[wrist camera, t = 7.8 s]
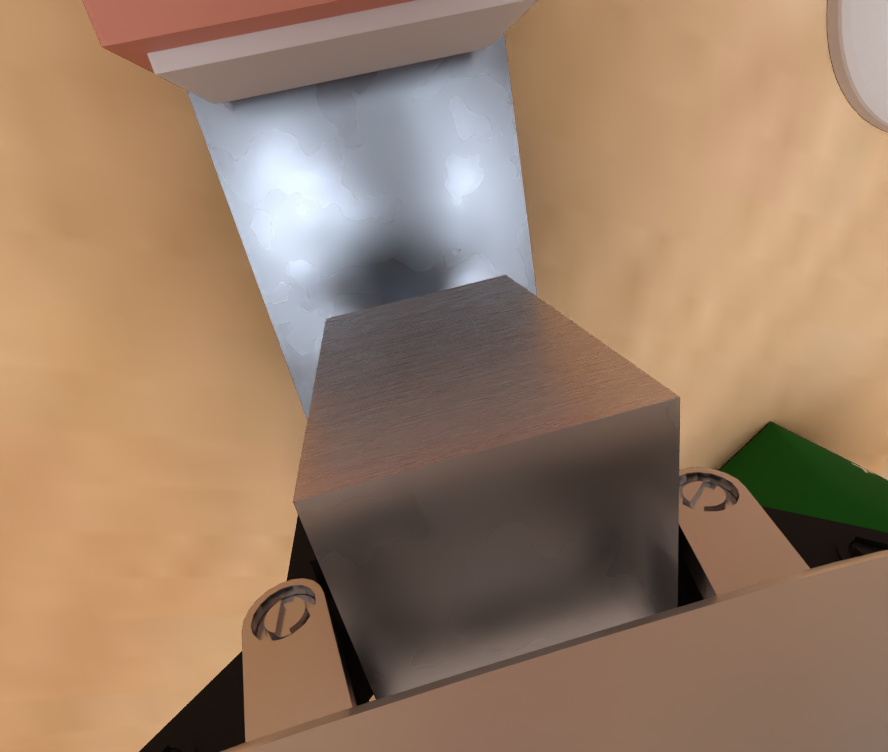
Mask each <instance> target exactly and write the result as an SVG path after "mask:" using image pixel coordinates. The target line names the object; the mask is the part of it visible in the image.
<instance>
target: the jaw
mask: <svg viewBox="0 0 888 752" xmlns="http://www.w3.org/2000/svg"><path fill="white" fill-rule="evenodd" d="M82 1H83V3H84V6H85V8H86V11H87V13H88V15H89V18H90V20H91V23H92V25H93V27H94V30H95V32H96V35H97V37H98V39H99V42H100V44H101V47H103V48H105V49H107V50H109V51H111V52H113V53H115V54H117V55H119V56H121V57H123V58H125V59H127V60H129V61H131V62H133V63H135V64H137V65H139V66H141V67H143V68H145V69H147V70H149V71H151V72H153V73H155V75H157V76H159V77H161V78H163V79H165V80H167V81H169V82H171V83H173V84H175V85H177V86H179V87H181V88H183V89H185V90H187V91H189V92H191V93H193V94H195V95H197V96H199V97H201V98H203V99H205V100H207V101H209V102H211V103H213V104H220V103H225V102H230V101H234V100H239V99H244V98H249V97H254V96H259V95H263V94H268V93H273V92H278V91H283V90H288V89H292V88H297V87H302V86H307V85H312V84H317V83H321V82H326V81H331V80H336V79H341V78H346V77H350V76H355V75H360V74H365V73H370V72H375V71H380V70H384V69H389V68H394V67H399V66H404V65H409V64H413V63H418V62H423V61H428V60H433V59H438V58H442V57H447V56H452V55H457V54H462V53H467V52H471V51H476V50H481V49H486V48H489V47H490V46H491V45H492V44H493V43H494V42H495V41H496V40H497V39H498V38H499V37H500V36H502V35H503V34H504V33H505V32H506V31H507V30H508V29H509V28H510V27H511V26H512V25H513V24H514V23H515V22H516V21H517V20H518V19H519V18H520V17H521V16H522V15H523V14H524V13H525V12H526V11H527V10H529V9H530V8H531V7H532V6H533V5H534V4H535V3H536V2H537V1H538V0H82Z"/></svg>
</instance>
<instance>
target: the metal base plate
mask: <svg viewBox="0 0 888 752" xmlns="http://www.w3.org/2000/svg"><path fill="white" fill-rule="evenodd" d="M187 93H188V95H189V98H190V101H191V104H192V106H193V109H194V112H195V114H196V117H197V120H198V123H199V125H200V128H201V131H202V134H203V136H204V139H205V142H206V144H207V147H208V150H209V153H210V155H211V158H212V161H213V164H214V166H215V169H216V172H217V174H218V177H219V180H220V183H221V185H222V188H223V191H224V194H225V196H226V199H227V202H228V205H229V207H230V210H231V213H232V215H233V218H234V221H235V224H236V226H237V229H238V232H239V235H240V237H241V240H242V243H243V245H244V248H245V251H246V254H247V256H248V259H249V262H250V265H251V267H252V270H253V273H254V275H255V278H256V281H257V284H258V286H259V289H260V292H261V295H262V297H263V300H264V303H265V305H266V308H267V311H268V314H269V316H270V319H271V322H272V325H273V327H274V330H275V333H276V335H277V338H278V341H279V344H280V346H281V349H282V352H283V355H284V357H285V360H286V363H287V365H288V368H289V371H290V374H291V376H292V379H293V382H294V385H295V387H296V390H297V393H298V395H299V398H300V401H301V404H302V406H303V409H304V412H305V415H306V417H307V420H308V415H309V410H310V404H311V399H312V393H313V388H314V382H315V377H316V371H317V365H318V360H319V354H320V349H321V343H322V338H323V332H324V327H325V321H326V318H330V317H334V316H338V315H342V314H346V313H350V312H354V311H358V310H363V309H367V308H371V307H375V306H379V305H383V304H387V303H391V302H396V301H400V300H404V299H408V298H412V297H416V296H420V295H424V294H428V293H433V292H437V291H441V290H445V289H449V288H453V287H457V286H461V285H466V284H470V283H474V282H478V281H482V280H486V279H490V278H494V277H498V276H503V275H507V276H508V277H510V278H511V279H513V280H514V281H515V282H517V283H518V284H520V285H521V286H523V287H524V288H525V289H527V290H528V291H530V292H531V293H533V294H534V295H535V296H537V293H536V285H535V277H534V269H533V261H532V252H531V244H530V236H529V228H528V220H527V212H526V204H525V196H524V188H523V180H522V172H521V164H520V156H519V148H518V140H517V132H516V124H515V116H514V108H513V100H512V92H511V84H510V76H509V68H508V60H507V52H506V44H505V36H504V34H503V35H502V36H500V37H499V38H498V39H497V40H496V41H495V42H494V43H493V44H492V45H491V46H490V47H489V48H486V49H481V50H476V51H471V52H467V53H462V54H457V55H452V56H447V57H442V58H438V59H433V60H428V61H423V62H418V63H413V64H409V65H404V66H399V67H394V68H389V69H384V70H380V71H375V72H370V73H365V74H360V75H355V76H350V77H346V78H341V79H336V80H331V81H326V82H321V83H317V84H312V85H307V86H302V87H297V88H292V89H288V90H283V91H278V92H273V93H268V94H263V95H259V96H254V97H249V98H244V99H239V100H234V101H230V102H225V103H220V104H213V103H211V102H209V101H207V100H205V99H203V98H201V97H199V96H197V95H195V94H193V93H191V92H189V91H187Z"/></svg>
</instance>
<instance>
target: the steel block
mask: <svg viewBox="0 0 888 752" xmlns="http://www.w3.org/2000/svg"><path fill="white" fill-rule="evenodd" d="M679 444H680V397H679V396H678V395H676V394H675V393H674V392H672V391H671V390H669V389H668V388H666V387H665V386H664V385H662V384H661V383H659V382H658V381H656V380H655V379H654V378H652V377H651V376H649V375H648V374H647V373H645V372H644V371H642V370H641V369H639V368H638V367H637V366H635V365H634V364H632V363H631V362H629V361H628V360H627V359H625V358H624V357H622V356H621V355H619V354H618V353H617V352H615V351H614V350H612V349H611V348H609V347H608V346H607V345H605V344H604V343H602V342H601V341H600V340H598V339H597V338H595V337H594V336H592V335H591V334H590V333H588V332H587V331H585V330H584V329H582V328H581V327H580V326H578V325H577V324H575V323H574V322H572V321H571V320H570V319H568V318H567V317H565V316H564V315H562V314H561V313H560V312H558V311H557V310H555V309H554V308H553V307H551V306H550V305H548V304H547V303H545V302H544V301H543V300H541V299H540V298H538V297H537V296H535V295H534V294H533V293H531V292H530V291H528V290H527V289H525V288H524V287H523V286H521V285H520V284H518V283H517V282H515V281H514V280H513V279H511V278H510V277H508V276H507V275H503V276H498V277H494V278H490V279H486V280H482V281H478V282H474V283H470V284H466V285H461V286H457V287H453V288H449V289H445V290H441V291H437V292H433V293H428V294H424V295H420V296H416V297H412V298H408V299H404V300H400V301H396V302H391V303H387V304H383V305H379V306H375V307H371V308H367V309H363V310H358V311H354V312H350V313H346V314H342V315H338V316H334V317H330V318H326V321H325V327H324V332H323V338H322V343H321V349H320V354H319V360H318V365H317V371H316V377H315V382H314V388H313V393H312V399H311V404H310V410H309V415H308V421H307V426H306V432H305V437H304V443H303V449H302V454H301V460H300V465H299V471H298V476H297V482H296V487H295V493H294V498H293V503H294V505H295V508H296V510H297V513H298V515H299V517H300V520H301V522H302V525H303V527H304V529H305V532H306V534H307V536H308V539H309V541H310V544H311V546H312V548H313V551H314V553H315V555H316V558H317V560H318V563H319V565H320V567H321V570H322V572H323V574H324V577H325V579H326V582H327V584H328V586H329V589H330V591H331V594H332V596H333V598H334V601H335V603H336V605H337V608H338V610H339V613H340V615H341V617H342V620H343V622H344V624H345V627H346V629H347V632H348V634H349V636H350V639H351V641H352V643H353V646H354V648H355V651H356V653H357V655H358V658H359V660H360V663H361V665H362V667H363V670H364V672H365V674H366V677H367V679H368V682H369V684H370V686H371V689H372V691H373V693H374V696H375V698H376V700H377V699H381V698H384V697H387V696H390V695H393V694H397V693H400V692H403V691H406V690H409V689H413V688H416V687H419V686H422V685H425V684H429V683H432V682H435V681H438V680H441V679H445V678H448V677H451V676H454V675H457V674H461V673H464V672H467V671H470V670H474V669H477V668H480V667H483V666H487V665H490V664H493V663H496V662H500V661H503V660H506V659H509V658H513V657H516V656H519V655H522V654H526V653H529V652H532V651H536V650H539V649H542V648H545V647H549V646H552V645H555V644H558V643H562V642H565V641H568V640H572V639H575V638H578V637H581V636H585V635H588V634H591V633H595V632H598V631H601V630H604V629H608V628H611V627H614V626H618V625H621V624H624V623H627V622H631V621H634V620H637V619H641V618H644V617H647V616H651V615H654V614H657V613H661V612H664V611H667V610H671V609H674V608H677V607H678V527H679Z"/></svg>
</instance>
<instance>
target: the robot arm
mask: <svg viewBox="0 0 888 752" xmlns="http://www.w3.org/2000/svg"><path fill="white" fill-rule="evenodd" d="M373 694H374V693H373V691H372V689H371V686H370V684H369V682H368V679H367V677H366V674H365V672H364V670H363V667H362V665H361V663H360V660H359V658H358V655H357V653H356V651H355V648H354V646H353V643H352V641H351V639H350V636H349V634H348V632H347V629H346V627H345V624H344V622H343V620H342V617H341V615H340V613H339V610H338V608H337V605H336V603H335V601H334V598H333V596H332V594H331V591H330V589H329V586H328V584H327V582H326V579H325V577H324V574H323V572H322V570H321V567H320V565H319V563H318V560H317V558H316V555H315V553H314V551H313V548H312V546H311V544H310V541H309V539H308V536H307V534H306V532H305V529H304V527H303V525H302V522H301V520H300V517H299V515H298V518H297V524H296V530H295V536H294V542H293V548H292V553H291V559H290V565H289V571H288V577H287V581H286V582H283V583H280V584H278V585H276V586H275V587H273V588H271V589H269V590H268V591H267V592H265V593H264V594H263V595H262V596H261V597H259V598H258V599H257V600H256V602H255V603H254V604H253V605H252V606H251V608H250V609H249V610H248V612H247V615H246V617H245V619H244V621H243V626H242V652H241V653H240V654H239V655H238V656H237V657H235V658H234V659H233V660H232V661H231V662H230V663H229V664H228V665H227V666H226V667H225V668H224V669H223V670H222V671H221V672H220V673H219V674H218V675H217V676H216V677H215V678H214V679H213V680H212V681H211V682H210V683H209V684H208V685H207V686H206V687H205V688H204V689H203V690H202V691H201V692H200V693H199V694H198V695H197V696H196V697H195V698H194V699H193V700H192V701H190V702H189V703H188V704H187V705H186V706H185V707H184V708H183V709H182V710H181V711H180V712H179V713H178V714H177V715H176V716H175V717H174V718H173V719H172V720H171V721H170V722H169V723H168V724H167V725H166V726H165V727H164V728H163V729H162V730H161V731H160V732H159V733H158V734H157V735H156V736H155V737H154V738H153V739H152V740H151V741H150V742H149V743H148V744H146V745H145V746H144V747H143V748H142V749H141V750H140V751H139V752H888V533H886V532H882V531H879V530H874V529H870V528H865V527H860V526H855V525H850V524H846V523H841V522H836V521H831V520H827V519H822V518H817V517H812V516H807V515H803V514H798V513H793V512H788V511H784V510H779V509H774V508H769V507H764V506H760V504H759V503H758V502H757V501H756V499H755V498H754V497H753V496H752V494H751V493H750V492H749V491H748V489H747V488H746V487H745V486H744V485H743V484H742V483H741V482H740V481H739V480H738V479H736V478H734V477H733V476H731V475H729V474H727V473H724V472H721V471H718V470H715V469H708V468H686V469H681V470H679V527H678V607H677V608H674V609H671V610H667V611H664V612H661V613H657V614H654V615H651V616H647V617H644V618H641V619H637V620H634V621H631V622H627V623H624V624H621V625H618V626H614V627H611V628H608V629H604V630H601V631H598V632H595V633H591V634H588V635H585V636H581V637H578V638H575V639H572V640H568V641H565V642H562V643H558V644H555V645H552V646H549V647H545V648H542V649H539V650H536V651H532V652H529V653H526V654H522V655H519V656H516V657H513V658H509V659H506V660H503V661H500V662H496V663H493V664H490V665H487V666H483V667H480V668H477V669H474V670H470V671H467V672H464V673H461V674H457V675H454V676H451V677H448V678H445V679H441V680H438V681H435V682H432V683H429V684H425V685H422V686H419V687H416V688H413V689H409V690H406V691H403V692H400V693H397V694H393V695H390V696H387V697H384V698H381V699H377V700H374V701H371V702H370V701H369V700H370V698H371V697H372V696H373Z"/></svg>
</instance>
